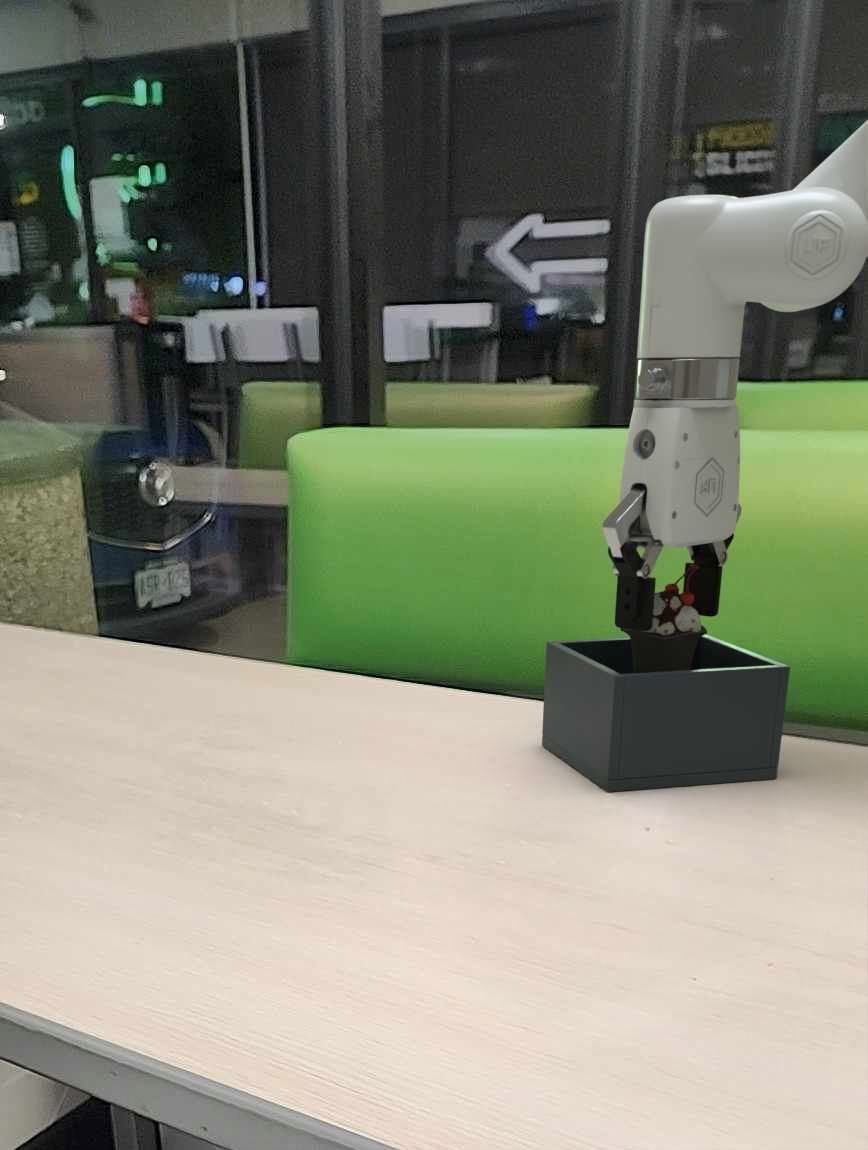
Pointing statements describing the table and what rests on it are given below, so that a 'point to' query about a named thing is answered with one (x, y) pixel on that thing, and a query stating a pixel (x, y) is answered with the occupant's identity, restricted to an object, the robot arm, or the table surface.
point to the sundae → (668, 632)
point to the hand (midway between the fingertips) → (667, 620)
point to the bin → (663, 715)
